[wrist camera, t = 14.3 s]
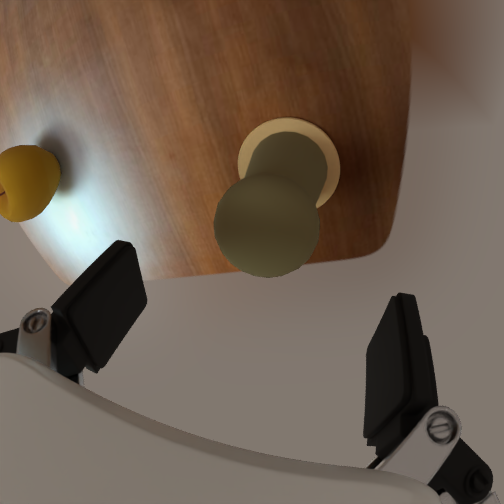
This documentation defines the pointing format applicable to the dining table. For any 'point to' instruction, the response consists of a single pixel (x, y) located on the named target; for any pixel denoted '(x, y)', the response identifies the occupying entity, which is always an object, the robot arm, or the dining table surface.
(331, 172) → the cork mat
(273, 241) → the pepper shaker
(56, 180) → the apple
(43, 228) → the dining table surface
